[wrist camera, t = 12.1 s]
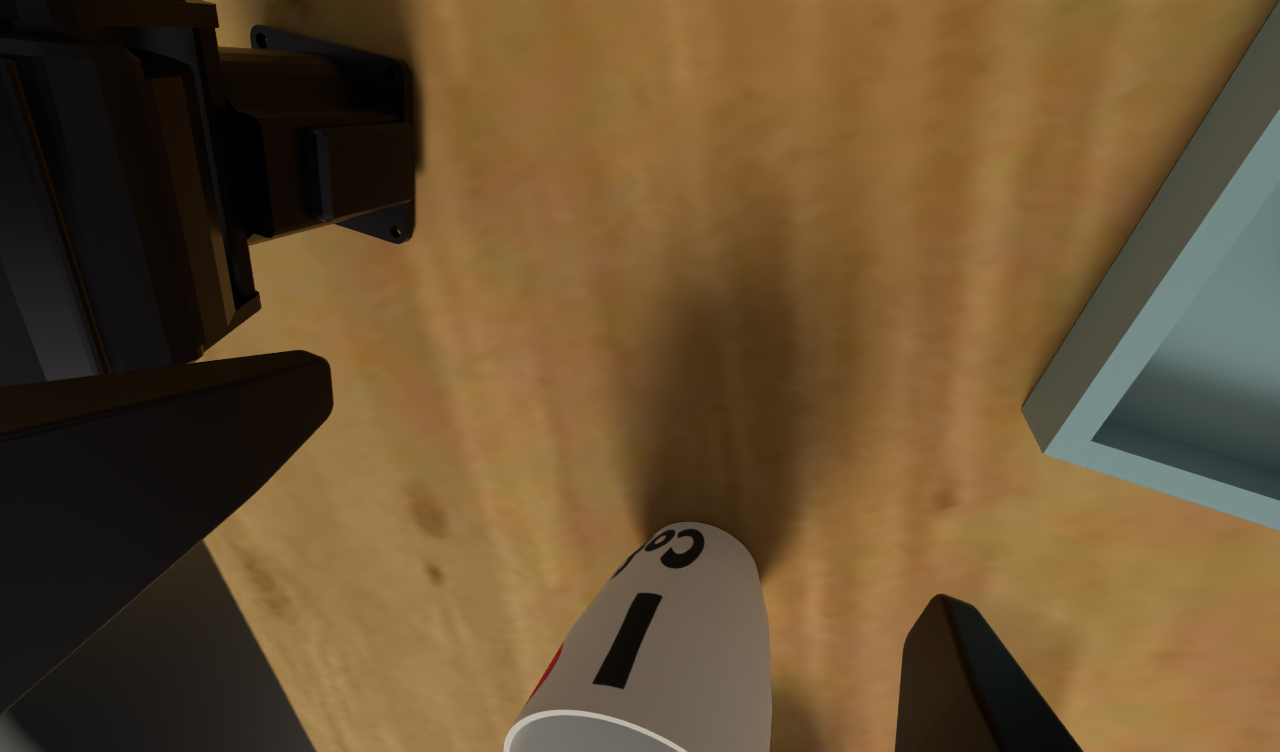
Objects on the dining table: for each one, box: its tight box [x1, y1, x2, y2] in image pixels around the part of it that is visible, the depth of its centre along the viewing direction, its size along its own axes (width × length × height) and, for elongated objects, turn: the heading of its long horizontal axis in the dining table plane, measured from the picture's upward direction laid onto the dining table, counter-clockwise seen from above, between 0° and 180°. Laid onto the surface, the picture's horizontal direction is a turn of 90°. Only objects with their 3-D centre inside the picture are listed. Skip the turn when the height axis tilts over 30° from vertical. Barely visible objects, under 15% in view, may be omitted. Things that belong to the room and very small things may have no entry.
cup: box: [504, 522, 772, 752], centre depth 21 cm, size 8×8×10 cm
